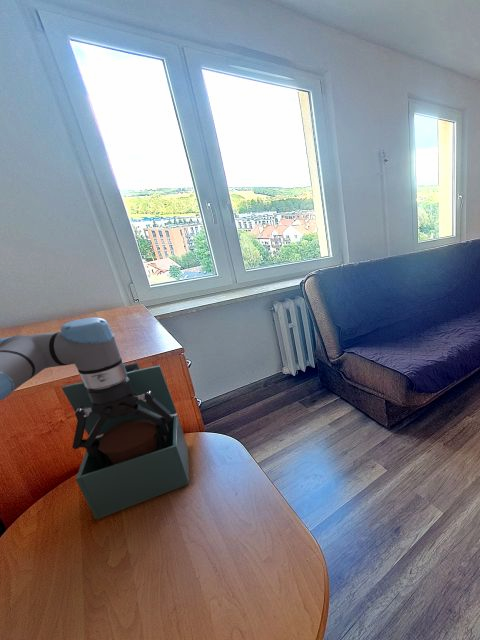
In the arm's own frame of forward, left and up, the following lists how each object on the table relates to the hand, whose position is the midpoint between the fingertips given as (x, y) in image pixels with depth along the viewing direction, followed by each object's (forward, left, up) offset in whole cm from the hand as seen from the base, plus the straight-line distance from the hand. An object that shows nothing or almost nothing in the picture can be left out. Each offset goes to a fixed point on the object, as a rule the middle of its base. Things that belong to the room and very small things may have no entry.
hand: (135, 454), depth 86 cm
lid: (-3, +6, +12) cm, 14 cm away
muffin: (0, 0, -1) cm, 1 cm away
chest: (0, +1, -10) cm, 10 cm away
